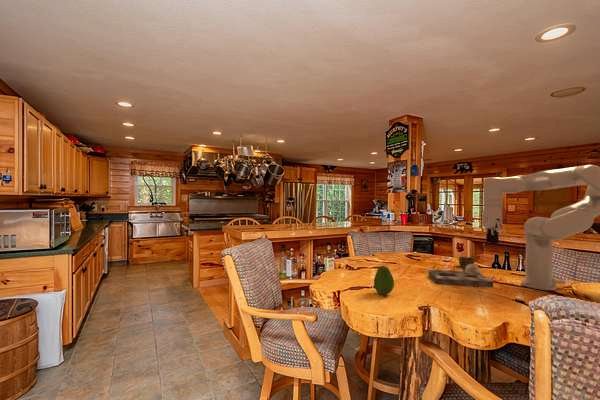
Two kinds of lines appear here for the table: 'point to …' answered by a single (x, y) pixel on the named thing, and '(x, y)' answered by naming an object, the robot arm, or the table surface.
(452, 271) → the track board
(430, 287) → the table surface
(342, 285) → the table surface
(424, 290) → the table surface
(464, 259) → the cup
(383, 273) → the avocado
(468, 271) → the maple ball
